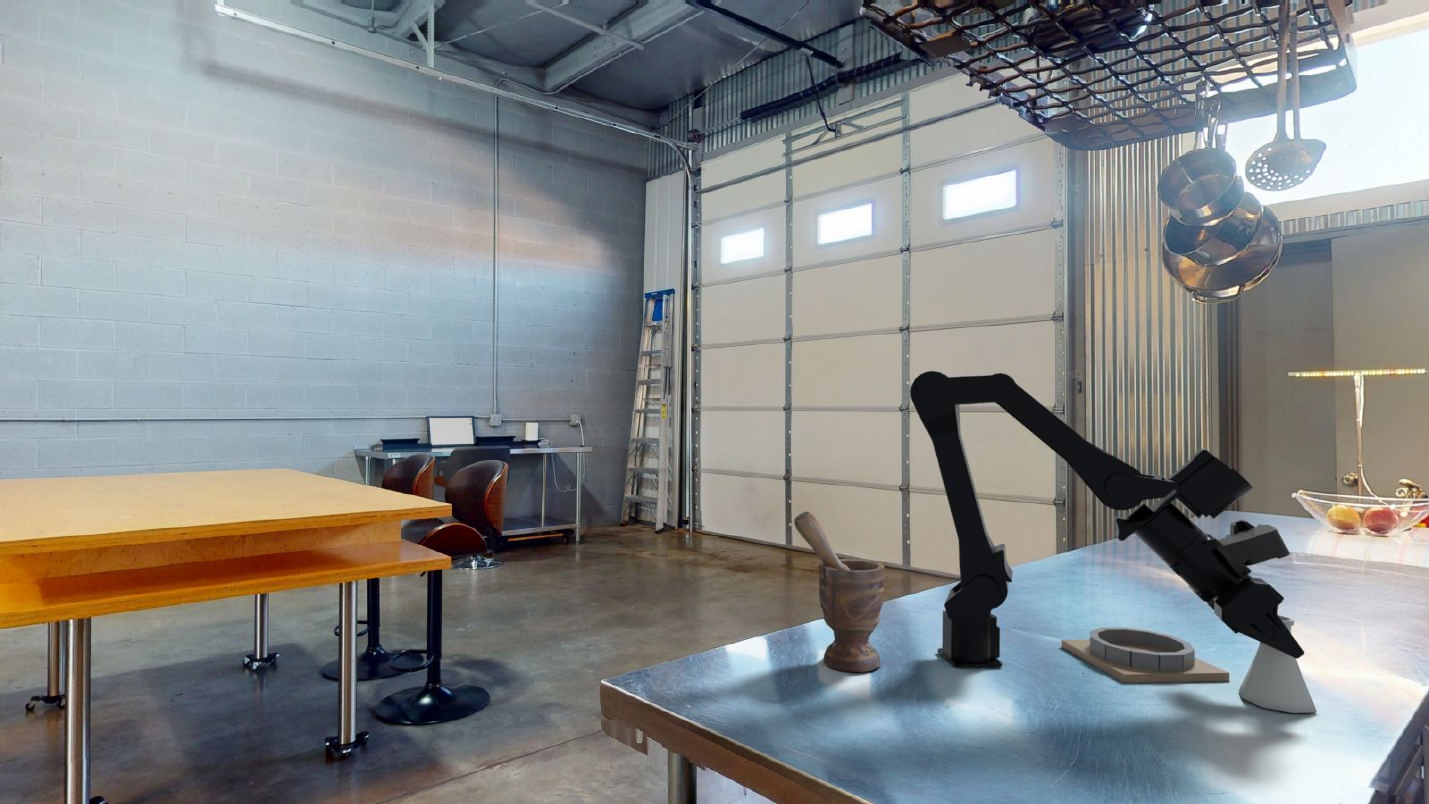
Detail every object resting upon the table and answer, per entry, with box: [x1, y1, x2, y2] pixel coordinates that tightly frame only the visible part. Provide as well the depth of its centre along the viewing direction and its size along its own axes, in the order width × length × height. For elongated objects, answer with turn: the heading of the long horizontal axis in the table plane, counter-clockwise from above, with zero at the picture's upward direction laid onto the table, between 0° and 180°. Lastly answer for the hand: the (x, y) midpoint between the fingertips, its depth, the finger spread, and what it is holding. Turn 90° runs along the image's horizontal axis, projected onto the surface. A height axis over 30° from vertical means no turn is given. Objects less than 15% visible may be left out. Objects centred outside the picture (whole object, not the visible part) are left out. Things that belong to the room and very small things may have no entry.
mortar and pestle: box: [793, 511, 886, 673], centre depth 97 cm, size 12×9×20 cm
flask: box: [1238, 614, 1318, 714], centre depth 86 cm, size 7×7×10 cm
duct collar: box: [1060, 626, 1230, 684], centre depth 99 cm, size 14×14×3 cm
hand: (1291, 647), depth 85 cm, fingers open, 6 cm apart
